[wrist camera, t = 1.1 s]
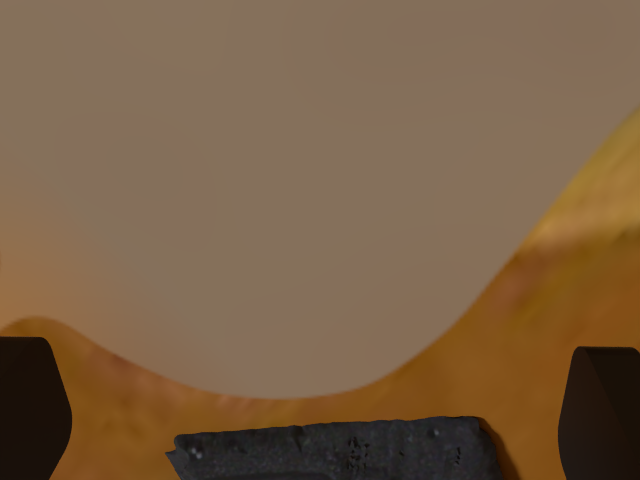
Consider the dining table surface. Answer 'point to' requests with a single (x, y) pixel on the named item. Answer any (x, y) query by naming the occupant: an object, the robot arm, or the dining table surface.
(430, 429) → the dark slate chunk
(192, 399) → the dining table surface
